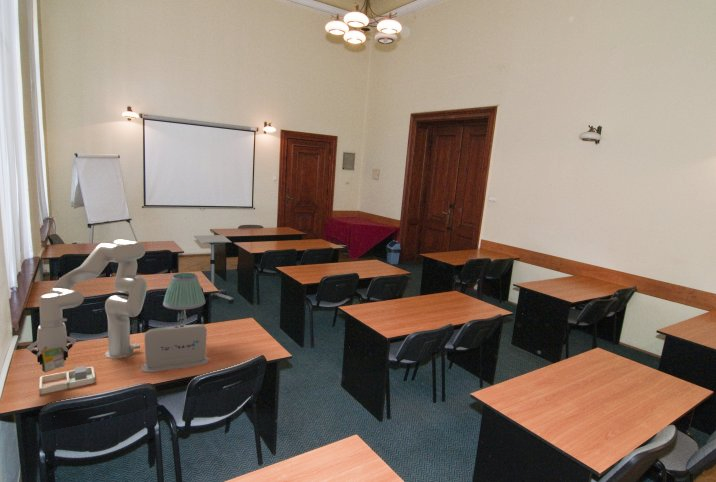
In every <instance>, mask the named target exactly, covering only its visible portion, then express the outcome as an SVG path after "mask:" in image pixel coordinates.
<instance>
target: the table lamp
mask: <svg viewBox="0 0 716 482" xmlns="http://www.w3.org/2000/svg"><path fill="white" fill-rule="evenodd" d="M206 302H207V301H206V299H205V295H204V292H203V290H202V287H201V284H200V282H199V278H198V275H197V274H196V273H190V272H181V273H180V272H179V273H175V274H173V275H172V277H171V279H170V282H169V284H168V287H167V288H166V291H165V295H164V298H163V302H162V306H163V307H165V308H166V309H170V310H180V311H181V312H178V313H177V322H179V321H180V323H181V324H182V321H183V325H187V321H188V319H187V318H188V317H187V315H186V312H187V311H186V310H191V309H197V308H200V307H203V306H205V304H206Z"/></svg>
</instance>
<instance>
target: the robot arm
mask: <svg viewBox="0 0 716 482" xmlns="http://www.w3.org/2000/svg"><path fill="white" fill-rule="evenodd" d="M146 251H147V249H146V245H145V244H144V243H142V242H140V241H134V240H130V239H115V240H114V241H112V242H111V243H108V242H102V243H101V242H100V243H99V244H98V245H96V247H95V248H93V250H92V251H91V252H90V254H89V255H88V257H86V258H85V259H84V260H83V262H82V264H80V266H78V267H76V268H74V269H73V270H70V271H69V272H67V273H65V274H63V276H61V277H60V278H58V280H57V281H56V282H55V284H54V285H53V286H52V287H51V288H50V290H49V291H48V293H45V294H42V295H40V296H39V298H38V302H39V303H38V304H39V325H38V327H37V330H36V331H37V332H36V333H37V334H36V341H34V342H33V343H31V344H29V345H28V346H27V350H28V351H29V352H30V353H31V354H33V355H35V356H36V359H37V363H39V366H42V355H41V353H42V351H43V350H44V347H46V346H47V348H48V349H55V348H61V347H62V348H63V349H64V361H67V358H69V350H70V349H72V348H73V347H74V345H75V343H76V342H77V339H75V338H73V337H71V336H68V334H67V333H68V332H67V327H66V324H65V322H67V321H68V318H65V317H63V310H65V309H66V310H67V309H72V308H77V307H79V306H80V305H81V304H82V303H83V302H84V300H85V296H84V294H83V293H82V292H81V291H79V290H75V289H72V288H74V286H75V285H77V284H80V283H81V282H85V281H90V280H92V279H96V278H97V277H99V276H100V275H101V273H102V272H103V271H104V270H105V268H106V267H107V266H108V264H109V263H118V267H117V270H116V274H115V278H114V281H113V282H114V284H113V289H114V290H115V292H117V293H122V294H126V295H128V296H126V295H120V294H113V295H111V296H109V297H108V298H107V299H106V300H105V304H104V309H105V313H106V316H107V317H106V318H107V336H108V338H107V339H108V340H107V343H108V344H107V346H108V348H107V349H108V350H107V351H106V352H105V353H104V356H105V357H106V358H107V359H122V358H125V357H128V358H129V357H131V355H133V354H134V350H137V349H141V344H138V343H133V344H132V343H131V341H130V340H131V337H130V335H131V334H130V333H131V332H130V331H131V330H130V325H131V323H130V318H135V317H137V316H139V314H140V313H141V311H142V309H143V306H144V302H145V299H146V293H147V289H148V284H147V283H148V282H147V281H146V279H145V278H144V277H143V276H142V277H141V276H137V271H138V262H137V260H139V259H141V258H142V257H144V256H145V254H146ZM68 342H70V343H69V344H68ZM34 347H36V349H35V348H34Z"/></svg>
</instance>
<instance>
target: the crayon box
mask: <svg viewBox="0 0 716 482" xmlns="http://www.w3.org/2000/svg"><path fill="white" fill-rule="evenodd" d="M41 355H42V364H41V367H42V368H41V370H42V372H44V373H48V372H51V371H54V370H57V369H61V368H64V367H65V366H66V364H65V363H66V362H65V360H64V349H63V348H62V347H61V348H55V349H48V348H47V346H46V347H44V350H43V351H42V353H41Z"/></svg>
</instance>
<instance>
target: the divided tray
mask: <svg viewBox="0 0 716 482" xmlns="http://www.w3.org/2000/svg"><path fill="white" fill-rule="evenodd" d="M95 383H96V374H95V370H94V366H93V365H92V366H89V367H86V379H81V380H76V381H75V369H73V370H72V369H71V370H66V371H61V372H56V373H51V374H46V375H40V376H39V384H38V385H39V386H38V389H39V390H38V392H39V394H38V395H44V394H49V393H54V392H57V391H59V392H60V391H63V390H68V389H72V388H73V389H74V388H77V387H81V386H86V385H90V384H91V385H92V384H95Z"/></svg>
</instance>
